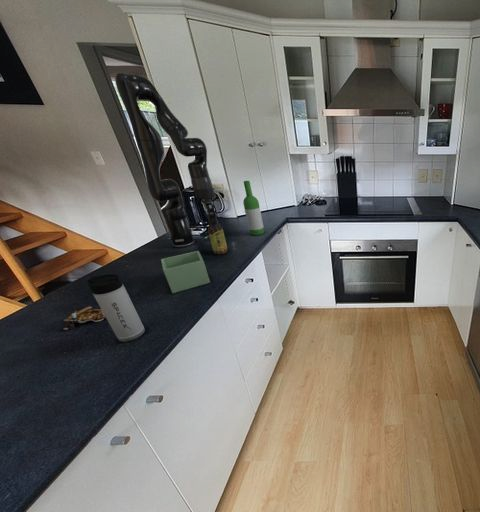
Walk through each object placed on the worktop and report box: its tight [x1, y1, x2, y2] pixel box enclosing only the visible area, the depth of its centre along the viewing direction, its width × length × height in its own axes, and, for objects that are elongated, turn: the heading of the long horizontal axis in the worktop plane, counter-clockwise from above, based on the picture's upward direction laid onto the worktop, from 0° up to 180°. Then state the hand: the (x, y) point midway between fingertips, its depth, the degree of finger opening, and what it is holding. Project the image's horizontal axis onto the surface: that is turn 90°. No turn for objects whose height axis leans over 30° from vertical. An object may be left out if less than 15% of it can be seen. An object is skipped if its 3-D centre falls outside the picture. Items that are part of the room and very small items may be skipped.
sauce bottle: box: [205, 212, 228, 255], centre depth 131 cm, size 7×6×20 cm
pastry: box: [63, 306, 106, 331], centre depth 88 cm, size 7×12×4 cm, turn 125°
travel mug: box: [86, 273, 146, 343], centre depth 78 cm, size 6×7×20 cm
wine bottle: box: [242, 180, 265, 236], centre depth 151 cm, size 8×8×30 cm
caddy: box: [160, 250, 211, 294], centre depth 108 cm, size 12×13×10 cm
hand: (213, 223), depth 128 cm, fingers closed on sauce bottle, 4 cm apart
